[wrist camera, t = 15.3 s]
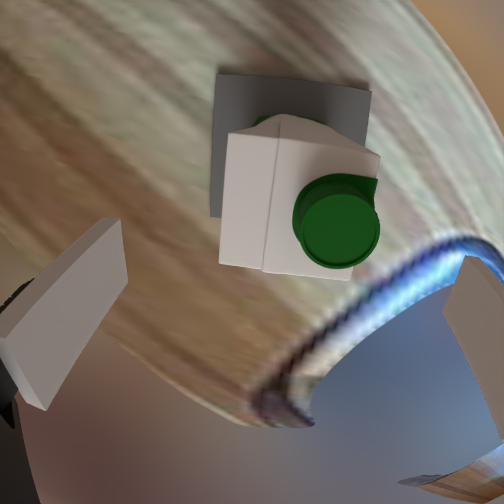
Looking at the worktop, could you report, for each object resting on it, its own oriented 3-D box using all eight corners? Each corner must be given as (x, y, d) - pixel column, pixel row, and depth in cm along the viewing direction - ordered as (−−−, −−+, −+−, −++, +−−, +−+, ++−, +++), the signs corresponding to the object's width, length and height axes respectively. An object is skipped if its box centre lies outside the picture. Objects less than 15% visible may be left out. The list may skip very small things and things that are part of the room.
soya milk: (324, 197, 35) (362, 312, 17) (241, 186, 35) (197, 291, 17) (337, 118, 30) (407, 153, 13) (249, 106, 31) (204, 121, 13)
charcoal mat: (218, 74, 30) (216, 74, 29) (369, 91, 30) (371, 91, 29) (211, 213, 38) (210, 216, 37) (347, 228, 37) (349, 231, 36)
